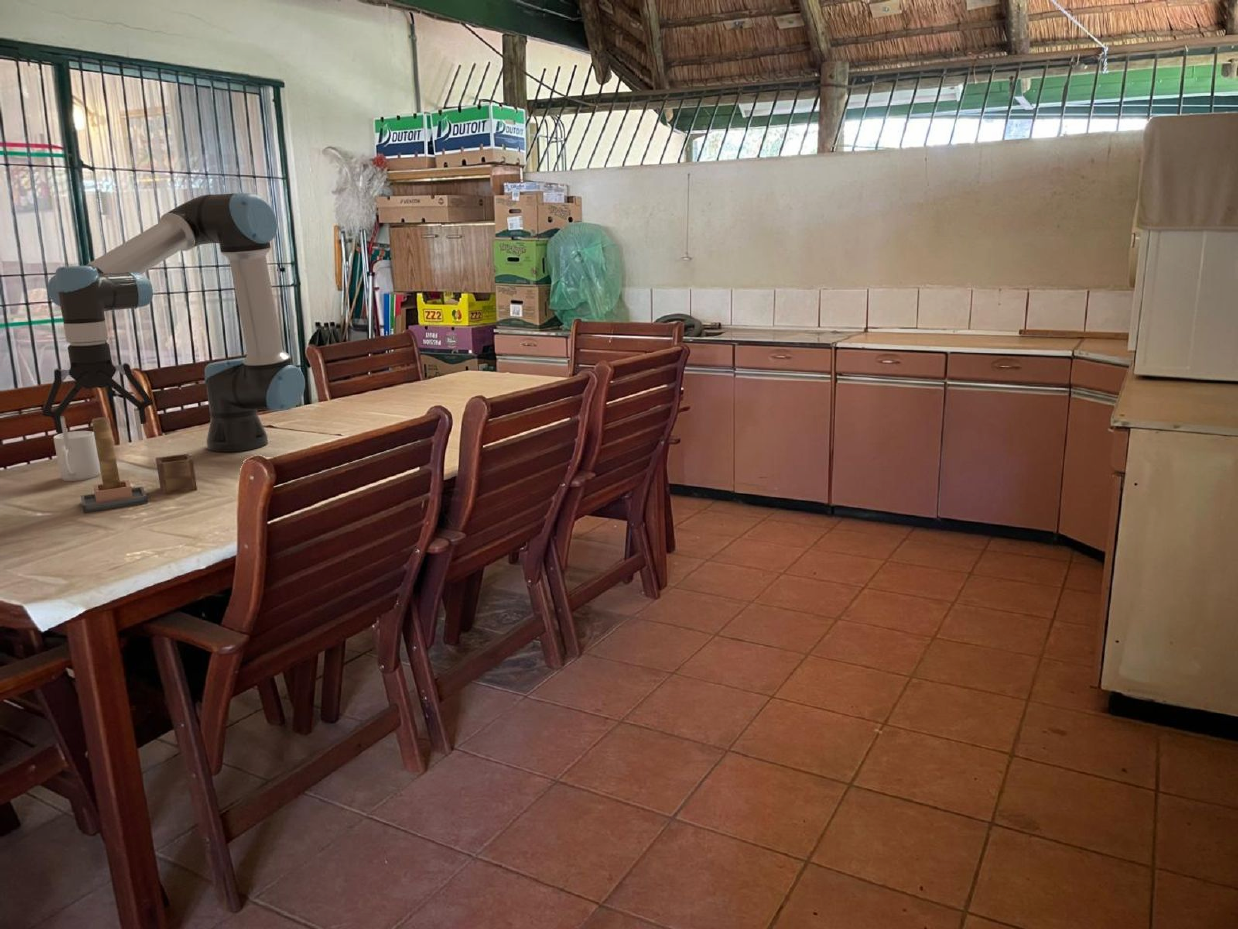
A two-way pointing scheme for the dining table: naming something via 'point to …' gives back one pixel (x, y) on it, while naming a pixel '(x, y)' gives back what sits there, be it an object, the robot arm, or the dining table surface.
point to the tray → (92, 506)
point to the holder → (113, 492)
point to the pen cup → (176, 473)
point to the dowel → (106, 453)
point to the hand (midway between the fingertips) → (104, 443)
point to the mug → (77, 456)
